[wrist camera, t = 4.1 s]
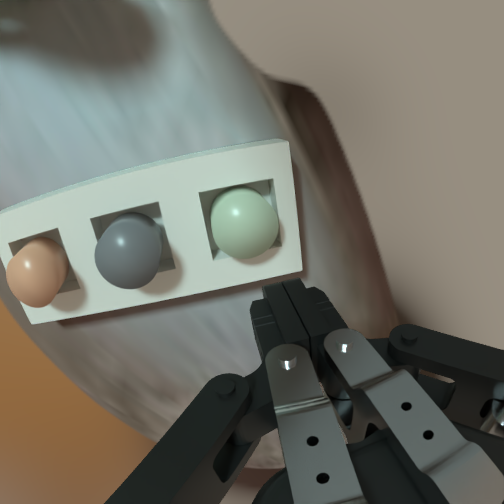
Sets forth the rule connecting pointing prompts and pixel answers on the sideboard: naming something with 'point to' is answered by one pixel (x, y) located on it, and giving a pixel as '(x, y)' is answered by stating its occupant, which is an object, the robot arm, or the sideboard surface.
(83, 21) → the sideboard surface
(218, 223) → the sage button
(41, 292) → the terracotta button
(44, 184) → the sideboard surface
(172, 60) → the sideboard surface
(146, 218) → the charcoal button
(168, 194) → the button board
